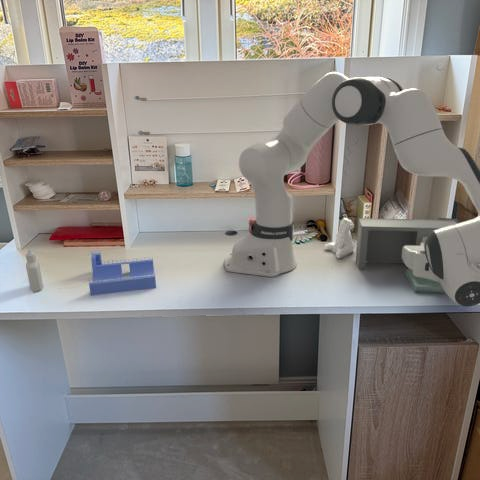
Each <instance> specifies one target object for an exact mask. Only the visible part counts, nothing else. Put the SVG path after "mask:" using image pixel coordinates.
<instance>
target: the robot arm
mask: <svg viewBox="0 0 480 480" xmlns="http://www.w3.org/2000/svg"><path fill="white" fill-rule="evenodd" d="M338 120H339V121H341V122H342V123H345V124H346V125H350V126H371V125H375V124H381V125H383V127H385V128H386V130H387V132H388V135H389V138H390V140H391V143H392V147H393V150H394V153H395V155H396V158H397V160H398V163H399V164H400V166H401V167H402V168H403V169H404V170H405V171H407V172H408V173H410V174H413V175H415V176H420V177H421V176H422V177H437V178H438V177H440V178H442V177H443V178H450V179H453V180H456V181H457V182H459V183H460V184H461V185H462V186H463V188H464V190H465V191H466V194H467V195H468V197H469V199H470V200H471V202H472V204H473V206H474V207H475V210H476V212H477V214H478V215H477V216H476V217H474V218H472V219H471V218H470V219H467V220H465V221H461V222H459V223H457V224H454V225H449V226H446V227H442V228H439V229H436V230H433V231H431V232H430V234H429V235H428V237H427V239H426V242H425V243H420V246H409V245H406V246H404V247H403V248H402V260H403V262H404V263H403V264H404V265H405V266H406V267H407V268H408V270H413V275H414V276H416V277H422V278H427V279H431V280H434V281H437V282H440V284H441V286H442V288H443V290H444V291H445V292H446V293H445V294H446V295H447V296H448V297H449V298H450V300H452V302H454V303H455V304H456V305H459V306H461V307H465V308H468V307H469V308H470V307H473V306H477V305H480V271H479V270H480V168H479V167H478V165H477V163H476V161H475V160H474V158H473V157H472V156H471V154H470V153H469V152H468V151H467V150H466V148H464V147H457V146H456V145H454V144H453V143H452V142H451V141H450V140H449V138H448V137H447V135H446V134H445V132H444V129H443V126H442V123H441V119H440V118H439V115H438V113H437V110H436V108H435V106H434V104H433V102H432V100H431V99H430V97H429V96H428V94H427V93H426V92H425V91H424V90H422V89H419V88H408V89H404V88H402V86H401V85H400V84H399V83H398V82H397V81H395V80H393V79H391V78H387V77H380V76H374V75H373V76H365V77H364V76H363V77H360V76H355V77H351V78H349V77H347V76H345V75H344V74H343V73H340V72H337V71H332V72H328V73H327V74H324V76H322V77H321V78H320V79H319V80H317V81H316V82H315V83H314V84H312V86H311V87H309V89H307V91H306V92H304V94H303V95H302V96H301V98H300V99H299V100H298V101H297V102H296V103H295V105H294V106H292V108H291V109H290V110H289V112H288V113H287V114H286V115H285V117H284V118H283V121H282V125H283V127H282V128H281V130H280V132H279V133H278V134H277V135H276V136H274V137H272V138H271V139H268V140H264V141H259V142H256V143H254V144H251V145H250V146H248V147H247V148H245V149H244V150H243V151H242V152H241V153H240V155H239V158H238V166H239V171H240V174H241V175H242V177H243V178H245V180H247V181H248V182H249V184H250V185H251V187H252V188H251V189H252V191H253V196H254V200H255V201H254V202H255V203H254V204H255V218H253V217H251V218H250V219H249V221H248V225H249V226H248V231H249V232H248V233H246V234H245V235H243V236H241V238H239V239H237V240H236V241H235V243H234V244H233V247H232V250H231V253H229V254H228V255H227V257H225V259H224V269H225V270H226V271H227V272H230V273H237V274H247V275H255V276H263V277H270V278H275V277H277V276H278V275H280V274H283V273H287V272H288V273H289V271H292V270H294V269H295V268H296V267H297V261H296V258H295V252H294V245H293V239H294V238H295V237H294V235H295V234H294V231H295V226H294V221H293V201H294V199H293V196H292V194H291V193H290V192H288V191H287V188H286V185H285V181H284V178H285V176H286V175H290V174H292V173H294V172H296V171H297V170H299V169H300V168H301V167H303V166H304V165H305V163H306V162H307V160H308V155H309V154H310V152H311V151H312V149H313V148H314V146H315V145H316V144H317V143H318V142H319V141H320V140H321V139H322V137H323V136H325V134H326V133H327V132H328V131H329V130H330V129H331V128H332V127H333V126H334V125H335V124H336V123H337V122H339V121H338Z"/></svg>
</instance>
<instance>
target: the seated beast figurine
mask: <svg viewBox="0 0 480 480" xmlns="http://www.w3.org/2000/svg"><path fill="white" fill-rule="evenodd" d="M354 228H355V224H354V222H353V220H351V219H349V218H348V217H343V218H342V219H341V221H340V222H339V228H338V232H337V234H335V237H336V238H335V241H334V242H328V243H326V244H324V250H325V251H330V252H333V253H334V254H335V258H337V259H343V258H344V257H346V256H349V254H351V253H352V252H353V251H354V249H355V244H354V242H353V238H352V235H351V233H350V231H351V230H352V229H354Z"/></svg>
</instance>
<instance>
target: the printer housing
mask: <svg viewBox="0 0 480 480" xmlns="http://www.w3.org/2000/svg"><path fill="white" fill-rule="evenodd" d="M454 224H457V223H456V222H455V221H454V220H438V219H408V218H407V219H405V218H371V217H370V218H368V217H367V218H366V217H362V218H361V217H359V218H358V225H357V227H358V229H357V238H356V239H357V240H356V241H357V242H356V252H355V263H356V265H357V269H358V270H360V271H361V270H364V271H365V270H366V265H367V263H368V262H369V263H370V262H371V263H372V262H373V263H395V264H396V263H399V264H405V263H404V262H403V260H402V248H403V247H404V246H406V245H409V246H420V243H425V242H426V239H427V237H428V235H429V234H430V232H431V231H433V230H436V229H439V228H442V227H446V226H449V225H454Z"/></svg>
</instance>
